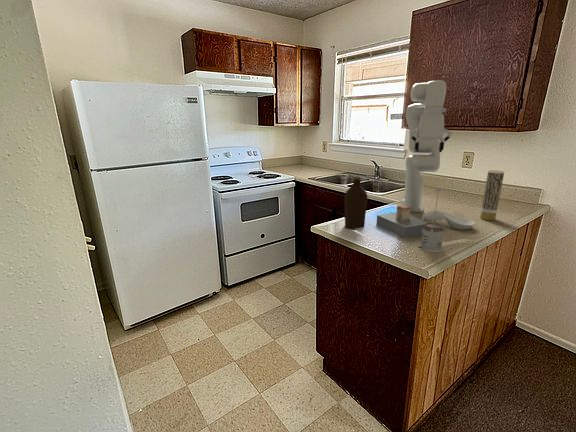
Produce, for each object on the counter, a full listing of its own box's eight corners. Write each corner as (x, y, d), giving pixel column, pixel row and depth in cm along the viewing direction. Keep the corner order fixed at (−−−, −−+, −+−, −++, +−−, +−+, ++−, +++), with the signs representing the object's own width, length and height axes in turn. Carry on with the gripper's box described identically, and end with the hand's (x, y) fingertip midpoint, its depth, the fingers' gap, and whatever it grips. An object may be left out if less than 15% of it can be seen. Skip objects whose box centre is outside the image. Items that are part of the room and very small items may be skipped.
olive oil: (369, 226, 154) (373, 176, 146) (357, 232, 147) (360, 179, 139) (351, 222, 161) (354, 174, 154) (339, 226, 154) (341, 177, 147)
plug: (395, 228, 148) (397, 205, 145) (402, 226, 149) (404, 204, 146) (401, 230, 144) (403, 208, 141) (408, 229, 146) (410, 207, 142)
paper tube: (482, 216, 167) (490, 169, 159) (496, 218, 162) (505, 171, 155) (478, 219, 162) (486, 171, 155) (493, 221, 158) (502, 172, 150)
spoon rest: (473, 226, 153) (475, 212, 151) (474, 233, 143) (477, 219, 141) (421, 220, 163) (423, 207, 161) (419, 226, 153) (421, 213, 151)
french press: (418, 250, 125) (425, 190, 118) (417, 240, 135) (424, 184, 128) (445, 253, 122) (454, 191, 114) (442, 243, 132) (450, 185, 125)
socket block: (376, 226, 154) (377, 215, 152) (399, 222, 158) (400, 211, 157) (404, 240, 136) (405, 227, 134) (429, 235, 140) (430, 223, 139)
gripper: (453, 111, 136) (448, 151, 141) (411, 112, 141) (407, 150, 145) (456, 110, 129) (451, 152, 134) (412, 111, 134) (408, 152, 139)
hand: (428, 151), depth 140 cm, fingers open, 9 cm apart
